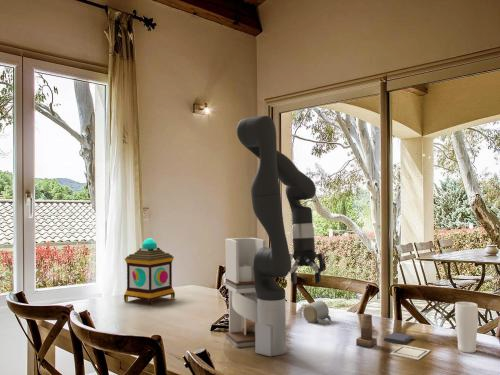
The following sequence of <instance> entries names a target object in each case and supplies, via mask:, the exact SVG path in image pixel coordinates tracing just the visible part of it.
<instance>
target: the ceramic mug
mask: <svg viewBox="0 0 500 375" xmlns="http://www.w3.org/2000/svg"><path fill="white" fill-rule="evenodd" d="M329 312H330V310H329V307H328V305H327V303H325V302H324V301H322V300H316V301H313V302H310V303H308V304H307V305H305V306H304V308H303V309H302V314H303V317H304V319H305V320H306V321H307V322H308V323H317V322H319V323H321V324H322V325H329V324H330V323H331V321H332V318H331V316H330V315H329ZM326 319H327V320H326Z"/></svg>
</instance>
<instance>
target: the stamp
mask: <svg viewBox="0 0 500 375" xmlns="http://www.w3.org/2000/svg"><path fill="white" fill-rule="evenodd" d="M355 344H356V345H355V346H356V347H360V348H361V347H362V348H367V349H372V348H374V347H376V346H377V345H378V338H377V337H373V314H370V313H361V314H360V336H359V337H358V338H356V343H355Z"/></svg>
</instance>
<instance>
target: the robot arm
mask: <svg viewBox="0 0 500 375" xmlns="http://www.w3.org/2000/svg"><path fill="white" fill-rule="evenodd" d="M236 135H237V139H238V141H239V142H240V144H242V145H243V147H245V148H246V149H247V150H249V151H250V152H251V153H252V154H253V155H254V156H255V157H257V158H258V159H259V165H258V167H257V171H256V174H255V176H254V178H253V181H252V183H251V187H250V196H251V197H250V198H251V205H252V209H253V213H254V214H255V215H254V216H256V218H257V220H258V221H259V223H260V224H261V225H262V227H263V229H264V230H265V233H266V234H267V236H268V239H269V244H270V247H263V248H259V249H258V250H257V251H256V253H255V256H254V265H253V266H254V284H255V290H256V293H257V323H256V324H255V345H254V346H255V347H254V348H255V350H254V351H255V352H254V353H256V354H258V355H263V356H268V357H273V356H274V357H275V356H281V355H283V354H285V353H286V351H287V348H286V347H287V345H286V344H287V343H286V342H287V340H286V336H287V332H286V330H287V329H286V328H287V327H286V323H287V322H286V317H287V316H286V290H285V288H284V287H283V286H281V285H279V284H278V283H277V282H276V281H275V279H274V278H276V279H277V278H280V279H282V278H283V279H284V278H285V277H288V275H289V273H290V280H291V282H292V284H294V285H296V284H297V283H298V278H297V275H298V274H297V270H298V268H300V267H310V268H311V269H313V271H314V272H315V273H314V280H315V281H314V282H315V285H319V284H320V283H321V281H322V279H321V278H322V276H321V273H323V271H326V270H327V267H326V266H327V265H326V260H325V259H326V257H325V253H324V252H320V253H316V247H315V244H316V243H315V230H314V224H313V211H312V208H311V207H309V206H304V205H302V203H301V201H304V200H311V199H313V198H314V197H315V195H316V194H317V187H316V184H315V182H314V181H313V180H312V178H310V177H309V176H307V175H306V173H305V174H304V172H301V171H300V170H299V169H298V167H296V165H295V164H294V162H293V161H292V160H291V159H290V158H289V157H288V156H287V155H286V154H284V153H282V152H280V151H279V150H278V149H277V142H278V141H277V129H276V125H275V122H274V120H273V119H272V117H271V116H269V115H259V116H251V117H247V118H242V119H241V120H240V121H239V122H238V124H237V127H236ZM280 182H281V183H282V185H284V186H285V195H286V198H287V201H288V206H289V209H290V211H291V217H292V218H291V221H292V229H291V230H292V233H291V235H292V248H293V249H292V250H293V253H292V254H291V253H290V250H289V245H288V240H287V235H286V230H285V224H284V216H283V206H282V196H281V189H280ZM316 258H317V260H318V263H319V264H318V263H317V262H316ZM292 260H294V262H293V264H292ZM318 265H319V266H318Z"/></svg>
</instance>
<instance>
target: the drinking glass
mask: <svg viewBox="0 0 500 375" xmlns="http://www.w3.org/2000/svg"><path fill="white" fill-rule="evenodd" d="M478 306H479V305H478V303H475V302H470V301H456V302H455V303H454V317H455V319H454V320H455V328H456V329H455V330H456V336H457V338H456V339H457V350H459V352H462V353H466V352H467V353H468V354H472V353H475V352H476V351H477V337H478V327H479V326H478V323H479V307H478ZM467 353H466V354H467Z"/></svg>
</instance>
